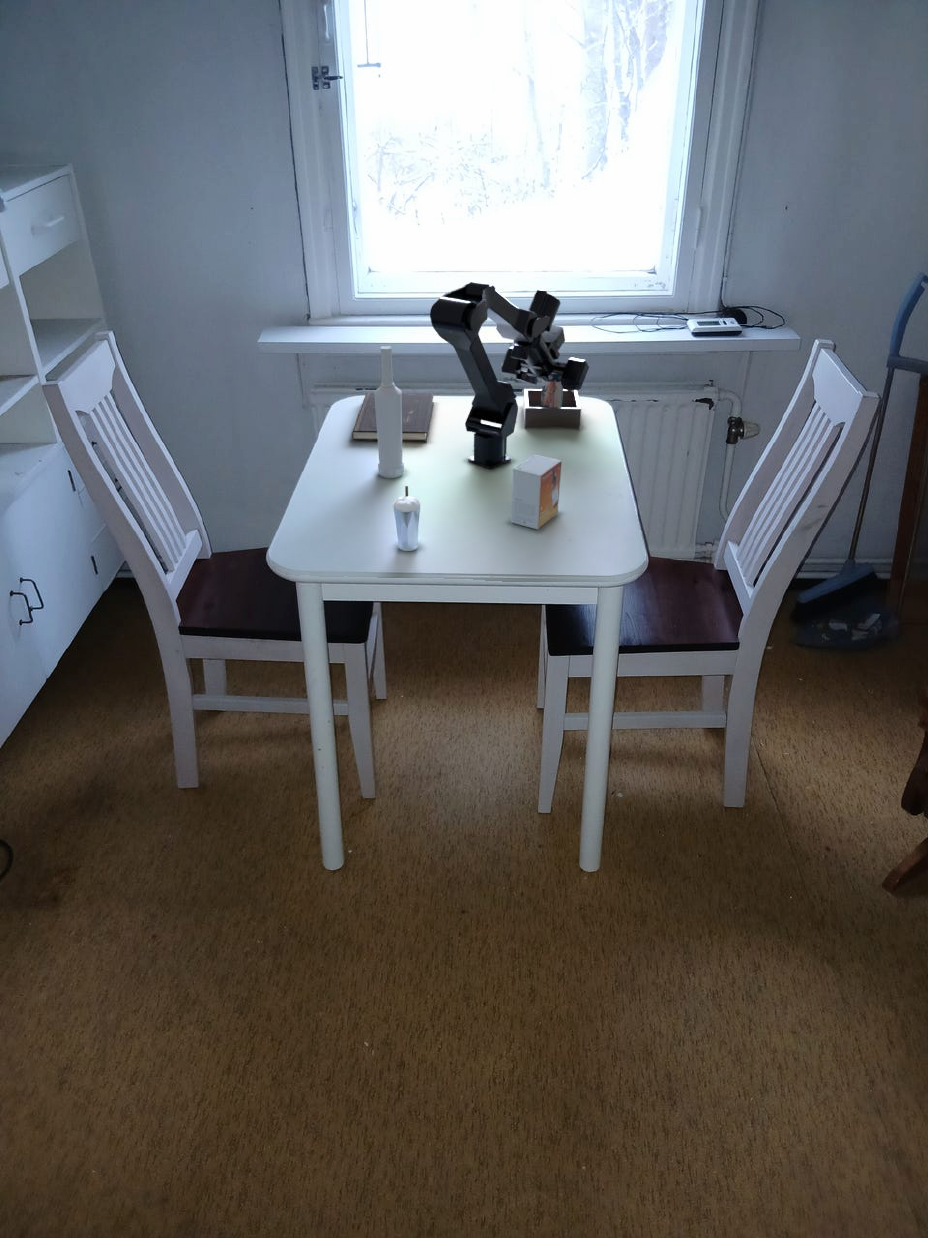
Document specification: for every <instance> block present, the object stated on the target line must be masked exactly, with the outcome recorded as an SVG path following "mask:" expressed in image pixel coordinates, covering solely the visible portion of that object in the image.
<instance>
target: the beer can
mask: <svg viewBox="0 0 928 1238" xmlns="http://www.w3.org/2000/svg"><path fill="white" fill-rule="evenodd" d="M561 377H562V375H561V374H556V373H551V374H550V375H549V378H548V379H544V378H541V389H542V395H541V407H561V408H562V397H563V390H564V389H563V386H562V385H561Z"/></svg>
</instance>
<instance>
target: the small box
mask: <svg viewBox="0 0 928 1238" xmlns="http://www.w3.org/2000/svg"><path fill="white" fill-rule="evenodd" d="M561 473H562V460H559V459H556V458H553V457H547V456H544V455H540V454H533V455H532V456H531V457H529V458H528V459H526V460H524V461H523V463H521V464H519V465H518V466H517V467H514V468H513V469H512V492H511V493H512V494H511V518H510V519H511V521H510V522H511V523H512V524H516V525H519V526H523V527H526V528H530V529H533V530H540V528H542V527H543V526H544V525H545V524H546V523H548V522H549V521H550V520H551V519H553V518H554V517H555V516H557V515H558V513H559V501H560V487H561V486H560V485H561V475H562V474H561Z"/></svg>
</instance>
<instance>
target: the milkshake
mask: <svg viewBox="0 0 928 1238" xmlns="http://www.w3.org/2000/svg"><path fill="white" fill-rule="evenodd" d="M404 486H405V487H404V492H405V493H404V494H405V496H399V497H398V498H396V499H395V500H394V501H393V503H392V508H393V514H394V521H395V526H396V537H397V543H398V549H399V550H401V551H403V552H413V551H415V550H417V549H418V546H419V545H418V544H419V543H418V542H419V541H418V540H419V526H420V525H419V524H420V516H421V515H420V513H421V501H420V500H419V499H418V498H415V497H414V496H409V486H408V485H404Z"/></svg>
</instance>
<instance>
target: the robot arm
mask: <svg viewBox="0 0 928 1238" xmlns="http://www.w3.org/2000/svg"><path fill="white" fill-rule="evenodd" d="M560 308H561V300H560V299H558V298H557V297H556V296H554V295H552V294H550V293H548V292H547V290H545V289H544V290H543V289H536V292H535V293H534V294H533V297H532V300H531V302H530V304H529V307H528V309H523V308H520V307H517V306H516V305H515V304H514V303H512V302H511V301H510V300H509V299H508V298H506V297H505V296H504V295H503V294H502V293H500V292H499V291H498V290H497V289H496V287H495V286H494V285H492V283H489V282H482V281H476V280H471V281H467V282H465V284H464V285H462V286H461V287H458V288H456V289H453V290H451V291H449V292H446V293H444V294H443V295H441V297H440V298H438V299H437V300H436V301H435V302H434V303H433V304H432V306H431V308H430V311H429V319H430V323H431V326H432V328H433V329H434V331H435V333H436V334H437V335H438V336H439V337H440V338H441V339H442V340H444V341H445V342H447V343H448V344H450V345H451V346H452V347H453V348H454V350H455V353H456V355H457V357H458V360H459V361H460V364H461V366H462V369H463V370H464V373H465V375H466V377H467V379H468V381H469V383H470V385H471V387H472V390H473V392H474V397H473V399H472V400H471V408H470V410H469V413H468V415H467V417H466V419H465V423H464V426H465V430H466V432H468V433H469V432H470V433H473V455H471V456H468V457H467V461H468V462H471V463H474V464H476V465H479V466H481V467H484V468H486V469H489V470H493V469H495V468H497V467H499V466H502V465H503V464H506V463H508V462H510V461H512V457H511V456H509V455H507V445H508V444H507V443H508V437H510V436H511V435H513V434H514V432H515V428H516V423H517V420H518V419H517V417H518V413H519V405H518V402H517V395H516V393H515V392H514V388H513V386H512V384H511V383H509V382H504V381H500V380H498V378H497V375H496V373H495V371H494V368H493V366H492V364H491V361H490V358H489V357H488V354H487V351H486V350H485V346H484V345H483V342H482V340H481V337H480V331H481V328H482V326H483V324H484V323H485V322H486V321H487V320H488V318H489V319H490V320H491V321H493V322H494V323H495V324H496V328H495V329H496V331H497V333H498V334H499V335H500V337H502V338H503V339H507V340H512V341H513V346H510V347H509V348H507V350H506V352H505V355H504V357H503V360H502V363H501V365H500V371H501V373H502V374H503V375H504V377H507V378H510V379H513V380H518V381H521V382H524V383H528V384H530V385H534V386H537V384H538V381H539V380H538V378H540V379H542V378H544V379H548V378H549V375H550V374H551V373H556V374H561V375H562V377H561V385H562V386H563V390H568V391H570V392H574V390H577V392H578V391H579V390H581V389H582V387H583V385H584V381H585V379H586V376H587V374H588V371H589V369H590V366H589V364H588V362H587V360H586V359H582V358H577V357H570V358H568V359H567V362H561V361H556V360H559V358H560V355H561V354H560V352H559V350H560V349H561V347H562V346H563V345H564V343H566V337H565V331H564V327H562V326H560V325H554V322H555V320H556V317H557V314H558V311H559V310H560ZM483 421H484V422H483ZM487 422H488V423H487ZM492 423H493V424H492ZM497 424H498V425H497Z"/></svg>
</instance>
